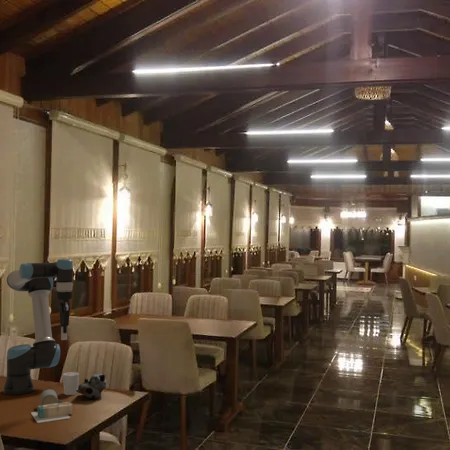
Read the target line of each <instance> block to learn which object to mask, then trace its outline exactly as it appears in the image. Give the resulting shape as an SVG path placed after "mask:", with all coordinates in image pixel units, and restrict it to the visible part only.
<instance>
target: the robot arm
mask: <svg viewBox="0 0 450 450" xmlns="http://www.w3.org/2000/svg"><path fill="white" fill-rule="evenodd" d="M73 270H74V264H73V260H72V259H70V258H60V259H57V260H56V261H54V262H26V263H24V262H23V263H21V264H20V266H19V269H18V270H13V271H11V272H10V273H9V274H8V275H7V277H6V283H7V286H8V287H9V288H10V289H12V290H14V291H17V292H27V293H28V296H29V297H30V298H31V304H32V315H33V317H32V318H33V327H34V336H35V337H34V339H35V341H33V343H32V346H31V344H29V343H25V344H23V343H21V344H18V345H17V344H16V345H14V346H11V347H10V348H8V350H7V352H6V378H5V382H4V384H3V386H2V393H3V394H4V395H7V396H10V395H11V396H16V395H19V396H20V395H25V394H29V393H32V392H33V391H34V390H35V385H34V381H33V379H32V376H31V372H32V371H31V370H38V369H43V368H45V369H46V368H52V367H56V366H57V365H58V364H59V362H60V358H61V347H60V344H59V343H56V340H55V339H54V338H53V333H52V324H51V313H50V303H49V295H50V294H51V291H52V290H53V289H54V278H56V287H55V289H56V300H58V301H60V302H59V304H58V308H59V309H58V310H59V325H60V340H61V341H68V328H69V327H68V326H69V325H70V312H71V311H70V310H71V306H70V303H69V300H72V299H73V296H74V295H73V291H72V290H73V286H74V283H73V280H74V276H73V274H74V273H73V272H74V271H73Z"/></svg>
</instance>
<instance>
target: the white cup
mask: <svg viewBox="0 0 450 450" xmlns="http://www.w3.org/2000/svg"><path fill="white" fill-rule="evenodd" d="M79 376H80V373H79V372H77V371H70V372H69V371H67V372H64V373H63V374H62V378H63V380H62V381H63V382H62V383H63V394H64V395H66V396H73V395H74V396H75V395H77V394H79V393H78V392H76V390H78V387H79V384H80V383H79V381H80V380H79V379H80V377H79Z"/></svg>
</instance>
